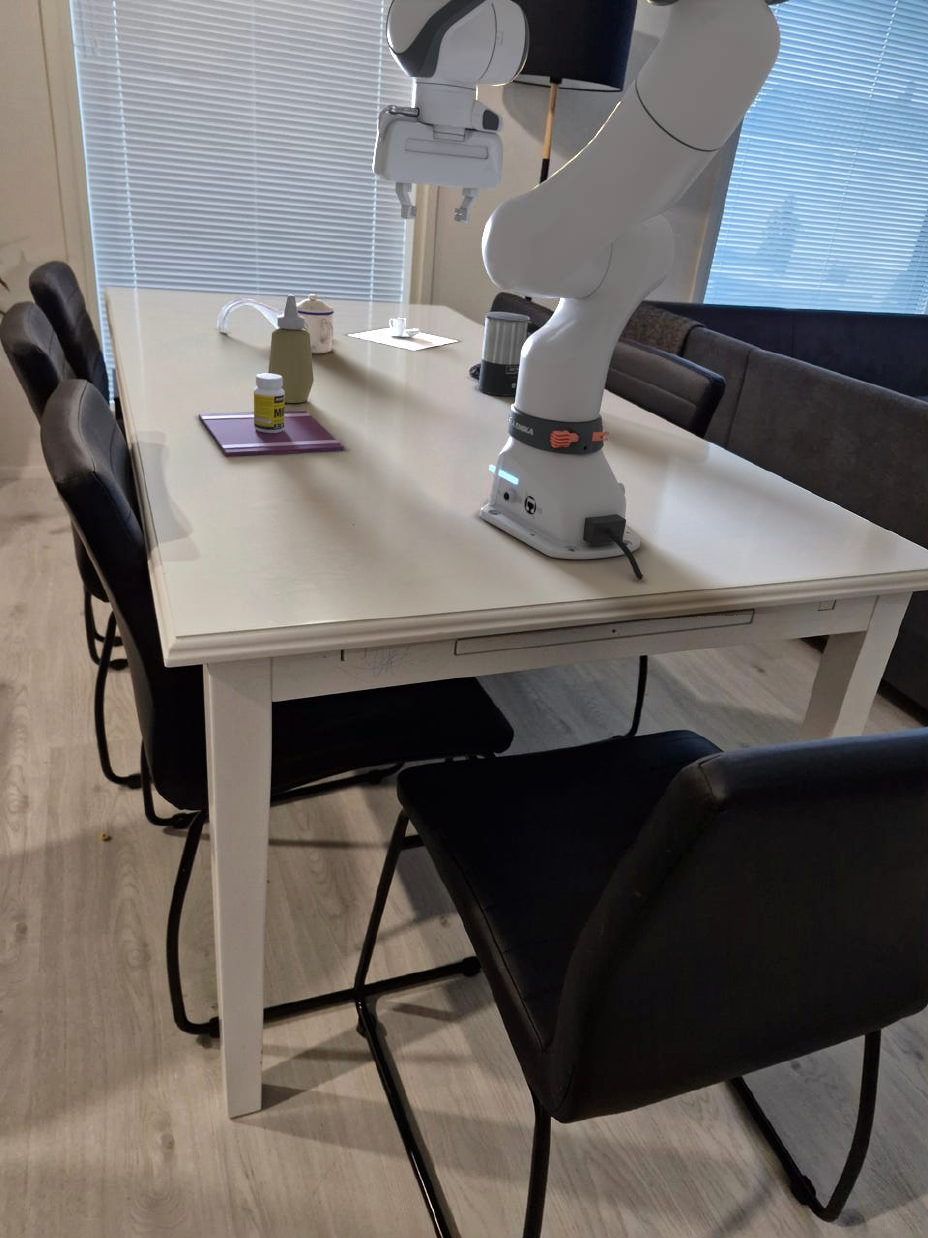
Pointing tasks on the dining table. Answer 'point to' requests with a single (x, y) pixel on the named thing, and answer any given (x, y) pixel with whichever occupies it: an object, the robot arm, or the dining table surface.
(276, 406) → the supplement bottle
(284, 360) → the squeeze bottle
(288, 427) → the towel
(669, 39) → the robot arm
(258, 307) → the clear curved arch
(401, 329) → the teacup and saucer
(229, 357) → the dining table surface
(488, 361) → the milk frother
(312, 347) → the teacup with lid
